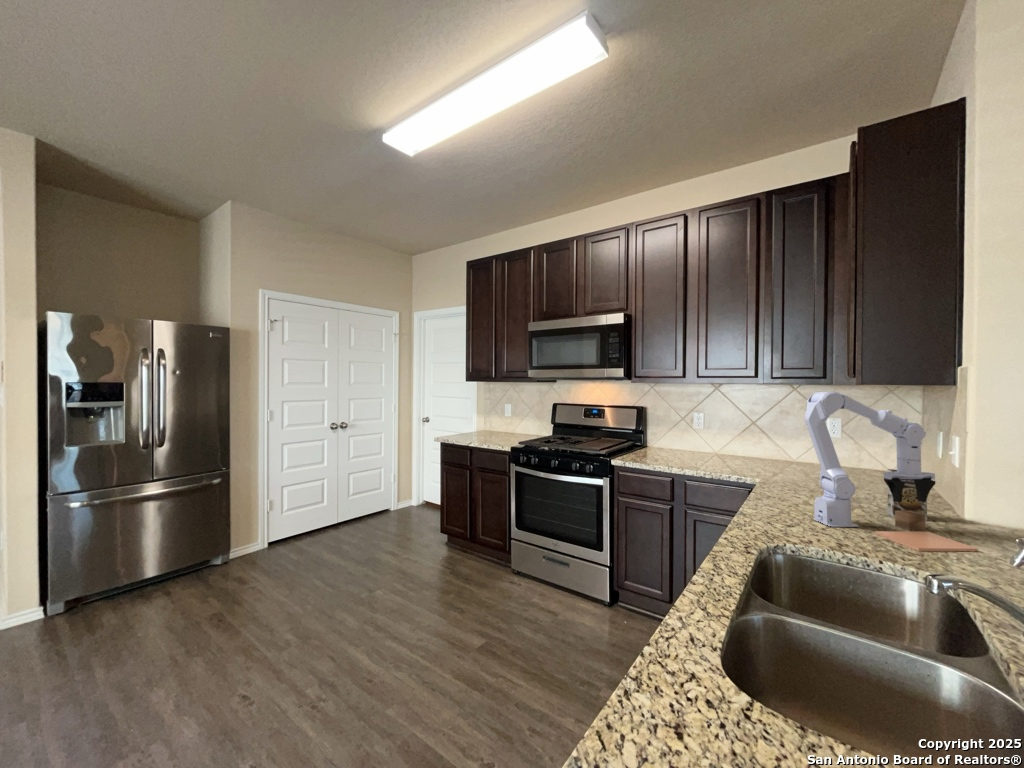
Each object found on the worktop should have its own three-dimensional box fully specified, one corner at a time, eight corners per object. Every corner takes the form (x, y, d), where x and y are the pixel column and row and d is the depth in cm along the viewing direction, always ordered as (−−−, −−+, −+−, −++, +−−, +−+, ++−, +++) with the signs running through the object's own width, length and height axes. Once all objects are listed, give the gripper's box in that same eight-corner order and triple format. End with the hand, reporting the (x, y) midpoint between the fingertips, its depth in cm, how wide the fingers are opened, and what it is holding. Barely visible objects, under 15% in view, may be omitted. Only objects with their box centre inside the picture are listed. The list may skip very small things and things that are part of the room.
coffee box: (893, 517, 145) (892, 471, 146) (887, 513, 151) (886, 468, 151) (928, 521, 141) (927, 473, 141) (920, 516, 147) (920, 470, 147)
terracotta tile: (918, 551, 114) (918, 548, 115) (875, 533, 128) (875, 531, 129) (978, 551, 114) (978, 548, 114) (928, 534, 128) (928, 531, 128)
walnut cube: (909, 530, 132) (909, 515, 132) (895, 525, 137) (894, 510, 137) (925, 531, 132) (925, 515, 132) (910, 525, 137) (910, 510, 137)
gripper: (897, 461, 131) (897, 504, 130) (944, 461, 130) (945, 504, 130) (877, 457, 138) (878, 498, 138) (922, 457, 137) (923, 499, 137)
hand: (909, 501), depth 134 cm, fingers open, 7 cm apart
